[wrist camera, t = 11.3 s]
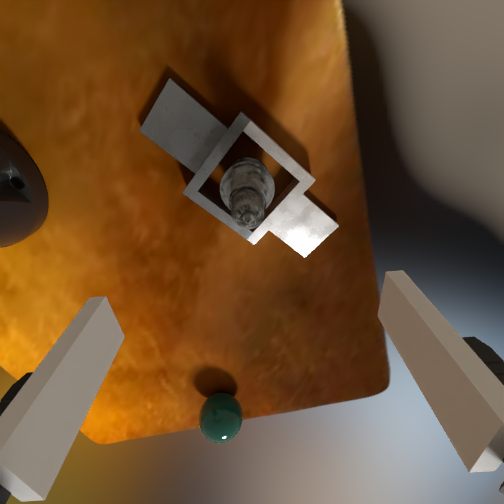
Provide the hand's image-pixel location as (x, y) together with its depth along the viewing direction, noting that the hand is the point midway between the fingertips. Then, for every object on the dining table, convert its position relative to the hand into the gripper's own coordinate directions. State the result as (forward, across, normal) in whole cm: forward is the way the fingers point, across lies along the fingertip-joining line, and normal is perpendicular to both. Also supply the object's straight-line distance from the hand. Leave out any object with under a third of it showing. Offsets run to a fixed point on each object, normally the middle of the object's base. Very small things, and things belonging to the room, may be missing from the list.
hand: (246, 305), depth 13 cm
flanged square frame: (+22, 0, 0) cm, 22 cm away
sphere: (+22, -9, -42) cm, 48 cm away
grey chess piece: (+22, 0, 0) cm, 22 cm away
